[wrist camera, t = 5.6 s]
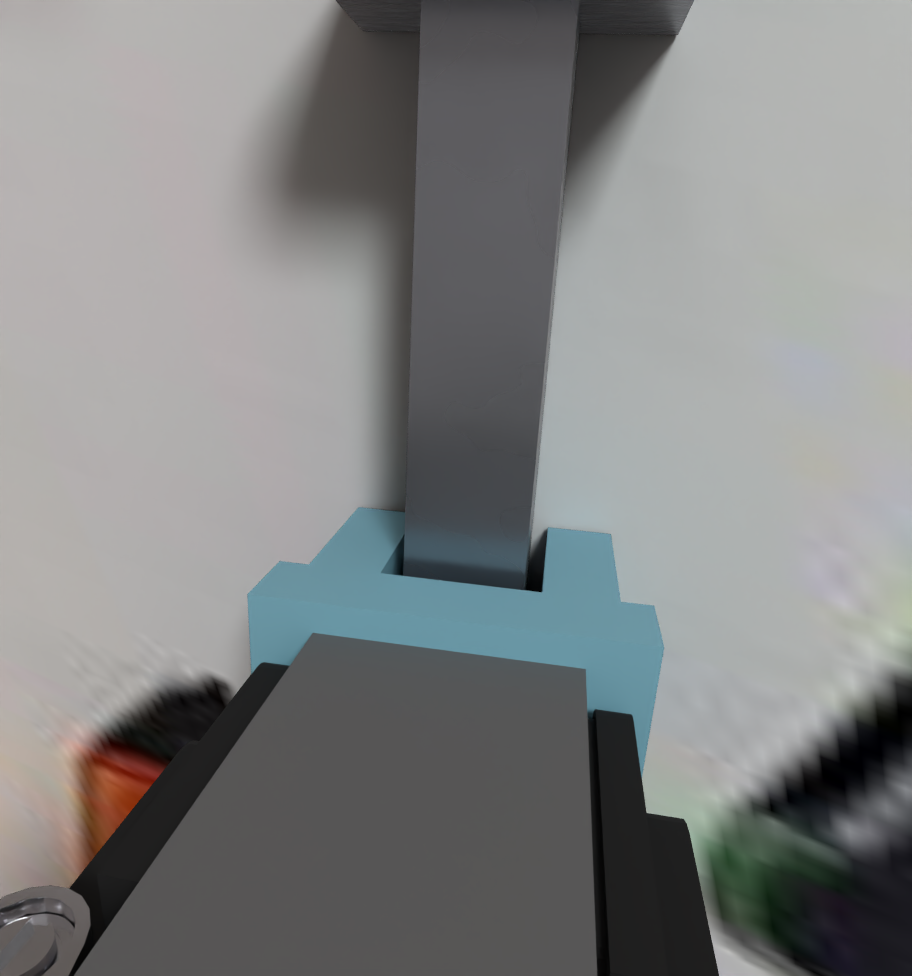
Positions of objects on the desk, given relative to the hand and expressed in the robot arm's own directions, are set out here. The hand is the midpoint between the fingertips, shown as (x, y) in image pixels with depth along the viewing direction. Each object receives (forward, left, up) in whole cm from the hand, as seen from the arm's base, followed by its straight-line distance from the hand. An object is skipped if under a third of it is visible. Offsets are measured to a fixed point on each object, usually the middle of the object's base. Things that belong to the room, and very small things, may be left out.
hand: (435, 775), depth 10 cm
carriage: (0, 0, -4) cm, 4 cm away
